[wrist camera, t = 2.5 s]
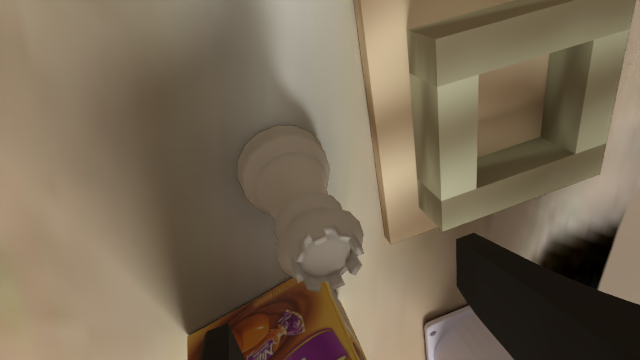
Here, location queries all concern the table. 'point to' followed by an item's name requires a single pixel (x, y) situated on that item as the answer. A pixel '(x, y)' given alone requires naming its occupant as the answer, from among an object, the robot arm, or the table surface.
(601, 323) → the robot arm
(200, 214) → the table surface
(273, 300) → the candy box
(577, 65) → the socket stand
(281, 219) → the rook chess piece
